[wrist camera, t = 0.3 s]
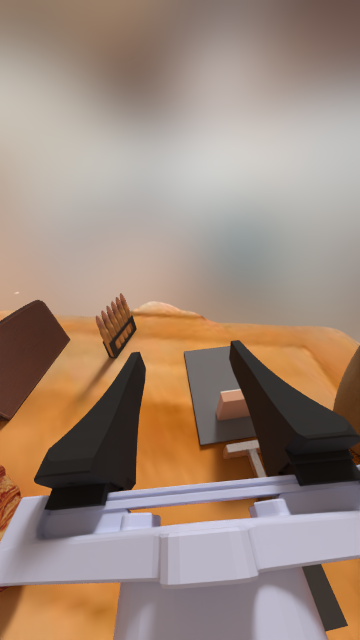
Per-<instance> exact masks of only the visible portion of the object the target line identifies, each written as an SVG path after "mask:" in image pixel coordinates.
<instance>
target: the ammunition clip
mask: <svg viewBox="0 0 360 640" xmlns="http://www.w3.org/2000/svg"><path fill="white" fill-rule="evenodd" d="M120 301H121V302H120ZM116 305H117V306H116ZM116 305H115V303H114V302H112V303H111V306H112V310H111V309H110V307H108V306H107V314H108V316H107V314H106V313H105V312H104V311H102V312H101V314H102V319H103V321H102V320H101V319H100V318H99V317H98V316H96V322H97V325H98V328H99V330H100V334H101V336H102V338H103V344H104V346H105V348H106V351H107V353H108V355H109V357H111V358H117V357H118V355H119V354H120V352H121V351H122V349H123V348H124V347H125V345H126V344H127V342H128V341H129V339H130V338H131V336H132V335H133V334H134V332H135V331H136V325H135V322H134V319H133V316H132V315H131V314H130V310H129V307H128V306H127V303H126V300H125V298H124V296H123V295H122V294H120V300H119V299H118V298H117V297H116ZM112 311H113V312H112ZM108 317H109V318H108ZM103 322H104V323H103Z"/></svg>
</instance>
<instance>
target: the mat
mask: <svg viewBox="0 0 360 640" xmlns="http://www.w3.org/2000/svg"><path fill="white" fill-rule="evenodd" d="M229 354H230V346H227V347H219V348H210V349H202V350H193V351H185V352H184V355H185V360H186V366H187V372H188V377H189V383H190V389H191V394H192V400H193V405H194V411H195V417H196V422H197V428H198V434H199V439H200V445H207V444H213V443H219V442H226V441H232V440H238V439H244V438H250V437H256V433H255V430H254V426H253V423H252V420H251V417H250V416H247V417H241V418H234V419H227V420H221V421H218V419H217V416H216V409H217V405H218V401H219V397H220V393H221V392H223V391H230V390H237V389H240V387H239V385H238V382H237V380H236V378H235V375H234V373H233V370H232V367H231V364H230V360H229Z"/></svg>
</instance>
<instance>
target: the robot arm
mask: <svg viewBox="0 0 360 640" xmlns="http://www.w3.org/2000/svg"><path fill="white" fill-rule="evenodd" d="M229 360H230V364H231V367H232V370H233V373H234V375H235V378H236V380H237V382H238V385H239V387H240V389H241V392H242V394H243V396H244V399H245V401H246V404H247V407H248V410H249V413H250V417H251V420H252V423H253V426H254V430H255V433H256V437H257V440H258V444H259V447H260V451H261V455H262V458H263V462H264V466H265V470H266V474H267V476H268V477H264V478H254V479H244V480H234V481H223V482H213V483H203V484H193V485H183V486H173V487H163V488H152V489H142V490H132V491H126V490H131V489H132V488H133V487H134V485H135V484H136V456H137V437H138V424H139V413H140V407H141V401H142V395H143V390H144V384H145V373H146V367H145V365H144V362H143V360H142V357H141V354H140V352H133V353H131V355H130V356H129V358H128V360H127V361H126V363H125V365H124V366H123V368H122V369H121V371H120V373H119V374H118V376H117V377H116V379H115V380H114V381H113V383H112V384H111V386H110V387H109V388H108V390H107V391H106V392H105V393H104V395H103V396H102V397H101V398H100V400H99V401H98V402H97V403H96V404H95V405H94V406H93V408H92V409H91V410H90V411H89V412H88V413H87V414H86V415H85V416H84V417H83V418H82V419H81V420H80V421H79V422H78V423H77V424H76V425H75V426H74V427H73V428H72V429H71V430H70V431H69V432H68V433H67V434H66V435H64V436H63V437H62V438H61V439H60V440H59V441H58V442H56V443H55V444H54V445H53V446H52V447H51V448H49V450H48V452H47V454H46V455H45V457H44V459H43V461H42V464H41V466H40V468H39V470H38V472H37V474H36V476H35V478H34V482H35V483H37V484H39V485H42V486H46V487H49V488H52V491H51V494H50V496H34V497H24V498H23V499H21V501H20V503H19V505H18V507H17V509H16V511H15V513H14V515H13V517H12V519H11V521H10V523H9V525H8V527H7V529H6V531H5V533H4V535H3V537H2V539H1V541H0V586H15V585H42V584H79V583H115V582H121V583H120V591H119V599H118V607H117V615H116V622H115V630H114V638H113V640H328V638H327V635H326V632H325V630H324V627H323V624H322V621H321V619H320V616H319V613H318V610H317V608H316V605H315V602H314V599H313V597H312V594H311V591H310V588H309V586H308V583H307V580H306V577H305V575H304V572H303V569H302V566H309V565H316V564H323V563H329V562H336V561H343V560H350V559H357V558H360V465H355V463H354V462H353V461H352V459H353V458H354V457H353V455H352V454H351V452H350V451H349V450H348V449H350V448H351V447H353V446H354V445H356V444H358V443H359V442H360V435H359V434H358V433H357V432H356V430H355V429H354V428H353V427H352V425H351V424H350V423H349V422H348V421H347V420H346V419H345V418H344V417H342V416H341V415H339V414H337V413H335V412H333V411H331V410H329V409H328V408H326V407H324V406H322V405H320V404H319V403H317V402H315V401H313V400H312V399H310V398H308V397H307V396H305V395H304V394H302V393H301V392H299V391H298V390H296V389H295V388H293V387H291V386H290V385H289V384H287V383H286V382H284V381H283V380H282V379H281V378H279V377H278V376H277V375H275V374H274V373H273V372H272V371H270V370H269V369H268V368H267V367H266V366H265V365H264V364H262V363H261V362H260V361H259V360H258V359H257V358H256V357H255V356H254V355H253V354H252V353H251V352H250V351H249V350H248V349H247V348H246V347H245V346H244V345H243V344H242V343H241V342H240V341H239V340H237V341H231V345H230V354H229ZM119 491H122V492H119ZM271 496H277V497H276V499H272V500H266V501H260V502H255V503H254V505H253V506H251V507H249V511H250V515H251V518H244V519H231V520H219V521H208V522H197V523H187V524H177V525H168V526H160V520H161V517H160V516H158V515H153V514H152V513H131V511H130V510H135V509H146V508H156V507H167V506H177V505H187V504H198V503H208V502H219V501H229V500H239V499H250V498H260V497H271Z"/></svg>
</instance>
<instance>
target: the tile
mask: <svg viewBox="0 0 360 640" xmlns="http://www.w3.org/2000/svg"><path fill="white" fill-rule="evenodd" d="M216 416H217V419H218V421H221V420H227V419H234V418H241V417H247V416H250V413H249V410H248V407H247V404H246V401H245V399H244V396H243V394H242V392H241V389H237V390H230V391H223V392H221V393H220V397H219V401H218V405H217V409H216Z"/></svg>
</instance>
